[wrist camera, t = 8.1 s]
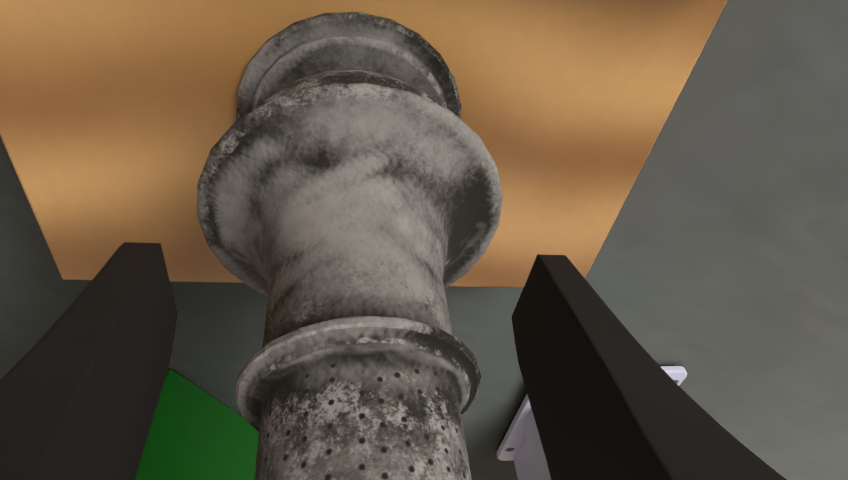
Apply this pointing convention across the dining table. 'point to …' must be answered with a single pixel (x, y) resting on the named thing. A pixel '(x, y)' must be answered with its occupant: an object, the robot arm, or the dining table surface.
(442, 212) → the grey stone finial
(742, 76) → the dining table surface
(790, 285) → the dining table surface
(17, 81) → the shelf stand
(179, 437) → the milk carton
